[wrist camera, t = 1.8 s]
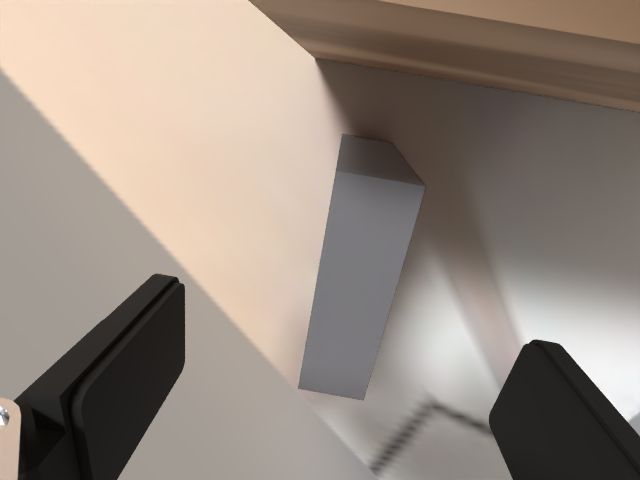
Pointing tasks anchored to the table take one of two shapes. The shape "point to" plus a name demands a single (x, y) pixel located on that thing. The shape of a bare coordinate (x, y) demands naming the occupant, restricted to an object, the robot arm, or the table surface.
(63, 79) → the table surface
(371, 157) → the grey piece
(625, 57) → the stand
